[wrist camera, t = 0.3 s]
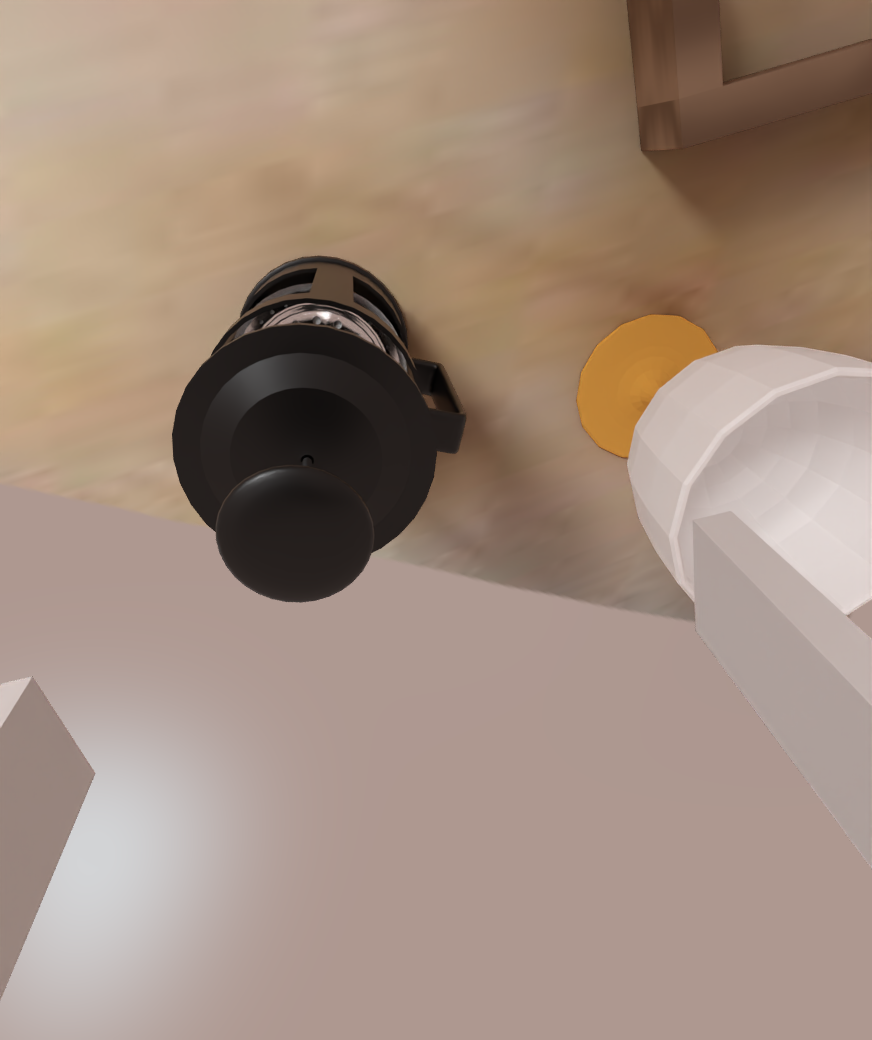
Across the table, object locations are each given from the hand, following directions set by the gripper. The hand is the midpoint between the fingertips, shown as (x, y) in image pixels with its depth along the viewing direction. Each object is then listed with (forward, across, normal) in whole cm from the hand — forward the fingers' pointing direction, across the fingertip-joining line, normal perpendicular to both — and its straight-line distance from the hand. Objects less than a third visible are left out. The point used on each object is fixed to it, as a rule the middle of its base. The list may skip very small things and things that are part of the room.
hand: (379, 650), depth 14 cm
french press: (+28, -2, 0) cm, 28 cm away
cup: (+28, +16, -7) cm, 33 cm away
